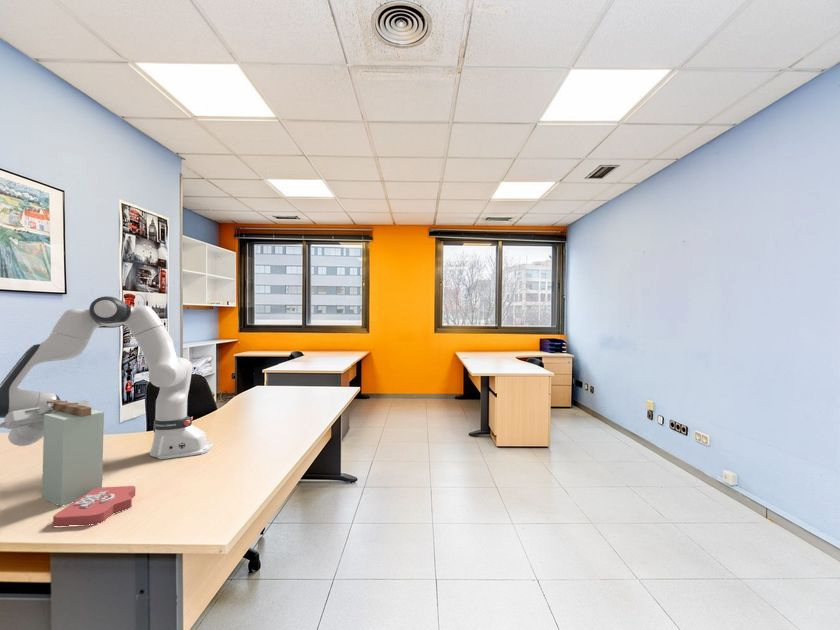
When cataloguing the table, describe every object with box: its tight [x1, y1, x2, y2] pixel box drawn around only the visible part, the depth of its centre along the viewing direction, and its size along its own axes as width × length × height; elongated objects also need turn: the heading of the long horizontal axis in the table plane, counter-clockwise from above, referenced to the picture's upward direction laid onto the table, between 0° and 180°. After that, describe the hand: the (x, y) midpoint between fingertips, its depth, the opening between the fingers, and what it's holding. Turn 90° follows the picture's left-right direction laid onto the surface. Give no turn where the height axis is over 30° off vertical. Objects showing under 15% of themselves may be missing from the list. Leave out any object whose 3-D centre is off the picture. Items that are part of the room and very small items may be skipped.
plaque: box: [52, 485, 136, 526], centre depth 108 cm, size 18×4×15 cm
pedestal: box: [41, 408, 105, 507], centre depth 116 cm, size 12×10×26 cm
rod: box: [47, 399, 92, 417], centre depth 118 cm, size 22×2×2 cm, turn 65°
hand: (59, 404), depth 120 cm, fingers closed on rod, 2 cm apart
